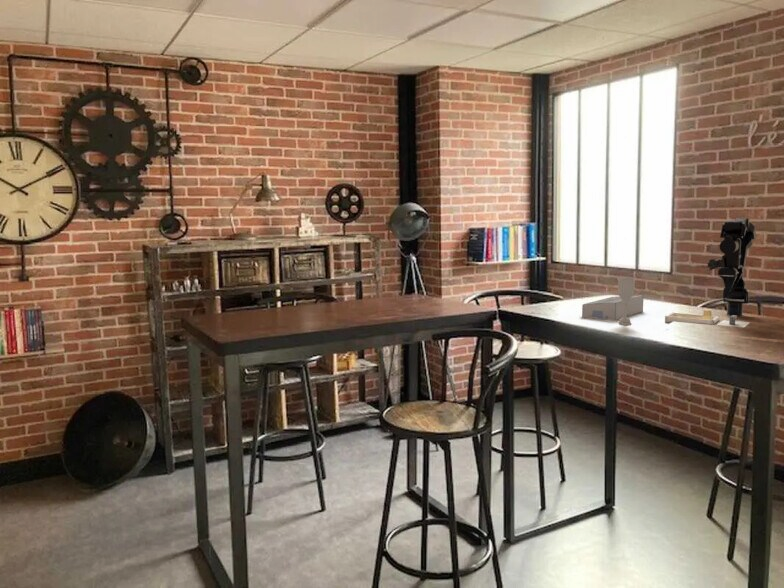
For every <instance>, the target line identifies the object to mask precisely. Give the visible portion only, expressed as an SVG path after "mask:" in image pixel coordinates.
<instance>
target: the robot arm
mask: <svg viewBox="0 0 784 588" xmlns="http://www.w3.org/2000/svg"><path fill="white" fill-rule="evenodd" d="M750 221H751V220H750V218H748V217H735V218H734V220H725V221H724V223H722V227H721V231H720V236H719V238H720V239H724V240H722V241H720V244H719V246H718V247H719V250H720V252H722V253H723V255H722V256H721V258H720V259H715V258H711V259H710V260H708V262H706V263H707V265H706V266H707V267H708V269H709V271H712V270H716V269H717V268H718V269H717V275H718V277H719V278H720V279H722V280H723V285H724V287H723V291H722V295H723V297H722V298H723V299H722V300H723V303H727V307H726V309H727V310H726V314H725V316H729V317H730V316H732V315H737V317H745V314H743V313H744V311H743V310H744V304H749V299H750V297H749V291H748V289H747V287H746V283H745V281H744V276H745V268H746V262H747V255H748V250H749V249H750V248H751V247H752V246H753V245H754V244H753V243H754V240H756V236H757V235H756V234H757V233H756V226H755V225H754V224H753V223H752V222H750Z"/></svg>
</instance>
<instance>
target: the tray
mask: <svg viewBox="0 0 784 588" xmlns="http://www.w3.org/2000/svg"><path fill="white" fill-rule="evenodd" d="M677 316H689V317H701V318H703V314H695V313H683V312H670V313H669V314H667V315H665V316H664V323H666V322H668V323H667V324H669V323H670V324H671V323H673V322H683V323H697V324H706V325H715V324H716V323H717V322H720V316H717V315H711V320H707V319H696V318H684V317H677Z"/></svg>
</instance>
